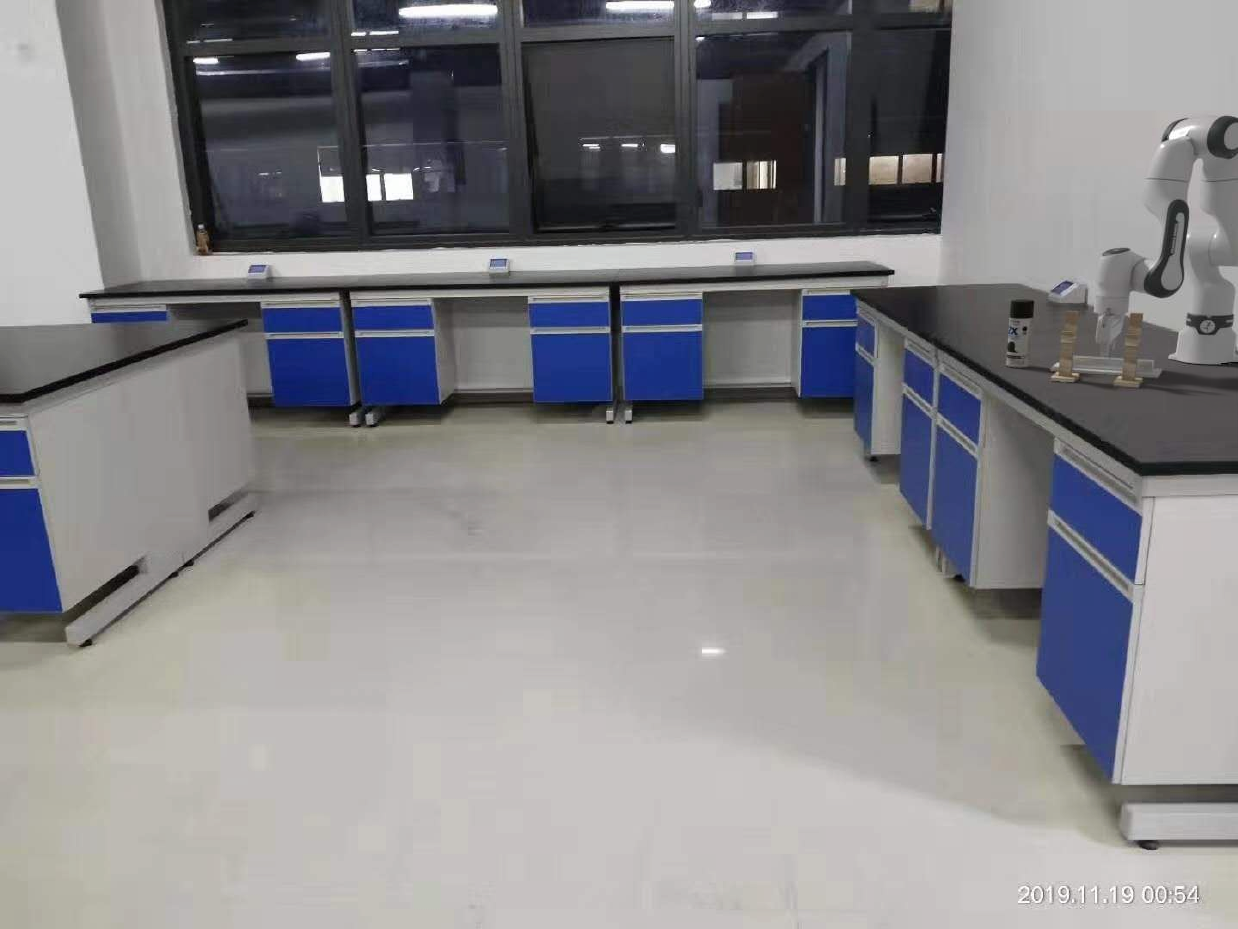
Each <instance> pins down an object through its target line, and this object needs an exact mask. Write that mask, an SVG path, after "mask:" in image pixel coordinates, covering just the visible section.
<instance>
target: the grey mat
mask: <svg viewBox="0 0 1238 929" xmlns="http://www.w3.org/2000/svg"><path fill="white" fill-rule="evenodd" d="M1059 363H1060V361H1059V362H1056V363H1055V364H1054V365H1052V366H1051V367H1050V368H1049V371H1050V372H1059ZM1162 372H1163V368H1157V367H1156V368H1154V367H1153V371H1152V372H1138V371H1136V377H1140V378H1151V379H1152V378H1153V379H1158V378H1159V377H1160V375H1161V373H1162ZM1072 373H1079V374H1090V375H1093V374H1094V375H1104V374H1106V375H1107V376H1122V370H1106V369H1090V368H1074V367H1073V369H1072Z"/></svg>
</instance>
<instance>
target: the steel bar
mask: <svg viewBox="0 0 1238 929" xmlns="http://www.w3.org/2000/svg"><path fill="white" fill-rule="evenodd" d="M1123 362H1124V357H1123V358H1122V357H1109V356H1107V357H1101V356H1089V355H1088V356H1087V355H1074V358H1073V367H1074V368H1090V369H1106V370H1122V371H1123ZM1154 363H1155V360H1154V359H1143V358H1142V359H1141V358H1138V360H1137V369H1136V371H1138V372H1152V371H1153V368H1154V365H1155V364H1154Z"/></svg>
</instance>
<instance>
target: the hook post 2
mask: <svg viewBox="0 0 1238 929" xmlns="http://www.w3.org/2000/svg"><path fill="white" fill-rule="evenodd" d="M1143 318H1144V312H1130V313H1129V324H1128V332H1127V333H1126V334H1125V335H1124V336H1125V338H1124V354H1123V358H1124V362H1123V371H1122V376H1119V375H1117V377H1116V378H1115V379H1114V381H1113V386H1114V387H1124V388H1139V387H1140V386H1141V384H1142V383H1143V379H1144V377H1136V369H1137V360H1138V359H1139V349H1140V343H1141V338H1142V328H1143V321H1144V319H1143Z"/></svg>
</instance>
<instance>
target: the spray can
mask: <svg viewBox="0 0 1238 929" xmlns="http://www.w3.org/2000/svg"><path fill="white" fill-rule="evenodd" d="M1009 309H1010V310H1009V319H1008V336H1007V346H1006V347H1007V348H1006V361H1005V365H1007V366H1008V367H1007V366H1006V367H1007V368H1011V367H1013V368H1012V369H1026V368H1029V367H1030V363H1031V362H1030V361H1031V352H1032V351H1031V349H1032V338H1033V326H1034V325H1033V324H1034V313H1035V312H1034V311H1035V300H1034V299H1026V298H1025V299H1022V298H1021V299H1011V300H1010V308H1009Z"/></svg>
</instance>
